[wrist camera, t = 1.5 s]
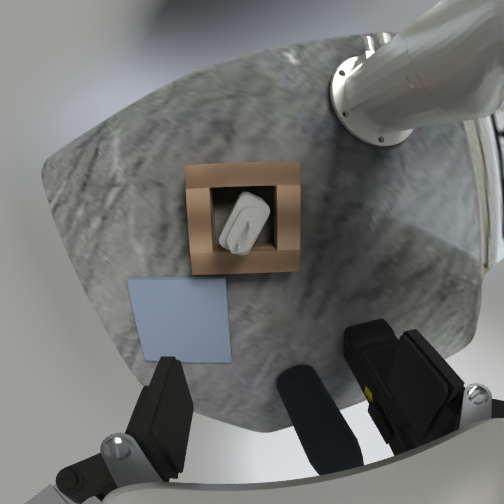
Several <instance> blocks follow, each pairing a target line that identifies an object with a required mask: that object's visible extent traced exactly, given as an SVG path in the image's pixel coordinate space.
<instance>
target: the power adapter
mask: <svg viewBox="0 0 504 504" xmlns="http://www.w3.org/2000/svg"><path fill="white" fill-rule="evenodd" d="M269 214H270V208H269V206H268V205H267V204H266V203H265V201H264V200H263V199H262V198H261V197H259V196H257V195H255V194H253V193H251V192H249V191H242V192H241V193H240V194H239V196H238V198H237V200H236V202H235V204H234V206H233V208H232V210H231V212H230V214H229V216H228V218H227V220H226V222H225V224H224V227H223V230H222V232H221V235H220V238H219V243H220V244H221V246H222V247H224V248H226V249H228V250H230V251H231V253H233V254H238V255H246V254H248V253H249V251H250V250H251V248H252V246H253V244H254V242H255V240H256V239H257V237H258V235H259V233H260V231H261V229H262V227H263V226H264V224H265V222H266V220H267V218H268V216H269Z"/></svg>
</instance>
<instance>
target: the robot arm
mask: <svg viewBox="0 0 504 504" xmlns="http://www.w3.org/2000/svg"><path fill="white" fill-rule="evenodd" d="M377 41H378V46H379V49H378V50H377V51H376V52H375V49H374V47H375V46H374V41H373V38H372V37H368V36H367V37H363V44H364V47H365V52H364V53H363V54H362V55H361V56H354V57H352V58H349V59H347V60H346V61H344V62H343V63H341V64H340V65H339V66H338V67H337V69H336V70H335V72H334V73H333V76H332V79H331V82H330V99H331V102H332V106H333V109H334V111H335V113H336V115H337V117H338V118H339V120H340V121H341V123H342V124H343V125H344V127H345V128H346V129H347V130H348V131H349V132H350V133H351V134H353V135H354V136H355V137H356V138H358V139H360V140H362V141H363V142H365V143H368V144H371V145H375V146H391V145H396V144H398V143H401V142H402V141H404V140H405V139H406V138H407V137H408V136H409V135H410V134H411V133H412V131H413V129H415V128H420V127H426V126H431V125H437V124H444V123H450V122H457V121H464V120H472V119H479V118H484V117H487V116H489V115H491V114H493V113H494V112H495V111H497V110H498V108H499V107H500V106H501V104H502V103H503V100H504V0H442V1H440V2H439V3H438V4H437V5H435V6H434V7H433V8H431V9H430V10H429V11H428V12H426V13H425V14H424V15H422V16H421V17H419V18H418V19H417V20H415V21H414V22H413V23H411V24H410V25H409V26H408V27H407V28H405V29H404V30H403V31H401V32H400V33H398V34H397V35H396V36H395V37H393V38H392V39H391V36H390V35H389V34H387V33H379V34H377ZM339 74H341V75H339ZM342 113H343V114H344V115H345V117H344V116H343V115H342ZM378 138H379V140H380V141H379V140H378ZM388 384H389V387H390V389H391V391H392V392H393V394H394V396H395V398H396V399H397V401H398V403H399V404H400V406H401V408H402V410H403V411H404V413H405V415H406V417H407V419H408V420H409V422H410V424H411V426H412V427H413V429H414V431H415V433H416V435H417V436H418V437H419V438H422V440H423V442H426V441H429V440H431V439H433V438H435V439H436V440H434V441H432V442H429V443H427V444H424V445H422V446H420V447H417V448H415V449H412V450H410V451H407V452H404V453H402V454H399V455H396V456H393V457H390V458H387V459H384V460H381V461H378V462H374V463H371V464H367V465H364V466H360V467H356V468H353V469H349V470H344V471H340V472H335V473H331V474H326V475H320V476H315V477H309V478H302V479H295V480H287V481H278V482H267V483H253V484H252V483H249V484H198V483H175V482H169V479H170V478H174V479H177V478H178V473H182V472H183V468H184V461H185V455H186V449H187V444H188V438H189V432H190V426H191V420H192V415H193V402H192V398H191V395H190V392H189V389H188V385H187V382H186V379H185V375H184V372H183V368H182V365H181V361H180V360H176V358H175V357H174V356H162V357H160V360H159V362H158V365H157V367H156V370H155V372H154V375H153V377H152V380H151V382H150V385H149V386H144V387H143V389H142V391H141V394H140V396H139V398H138V401H137V404H136V406H135V409H134V411H133V414H132V416H131V419H130V421H129V424H128V427H127V430H126V432H125V434H124V433H115V434H111V435H110V436H108V437H106V438H105V439H104V440H103V442H102V444H101V447H100V451H101V453H99V454H97V455H94V456H92V457H90V458H88V459H85V460H83V461H80V462H78V463H76V464H73V465H70V466H68V467H65V468H64V469H62V470H61V471H60V472H59V473H58V474H57V477H56V484H55V485H54V486H52V485H51V484H50V485H49V486H48V487H46V488H45V489H43V490H42V491H41V492H40V493H38V494H37V495H35V496H34V497H33V498H31V499H30V500H28V501H27V502H26V503H24V504H504V401H501V400H496V399H492V395H491V392H490V390H489V389H488V388H487V387H486V386H484V385H481V384H470V385H469V386H467V387H466V388H465V387H464V386H463V385H464V382H463V381H462V380H461V378H460V377H459V376H458V375H457V374H456V373H455V371H454V370H453V369H452V368H451V367H450V366H449V365H448V364H447V362H446V361H445V360H444V359H443V358H442V357H441V355H440V354H439V353H438V352H437V351H436V350H435V349H434V348H433V347H432V346H431V344H430V343H429V342H428V341H427V340H426V339H425V338H424V337H423V336H422V335H421V334H420V333H419V332H418V331H417V330H416V329H414V330H410V331H405V332H404V333H403V334H402V336H400V338H399V342H398V347H397V351H396V355H395V358H394V362H393V366H392V369H391V373H390V376H389V380H388Z"/></svg>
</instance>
